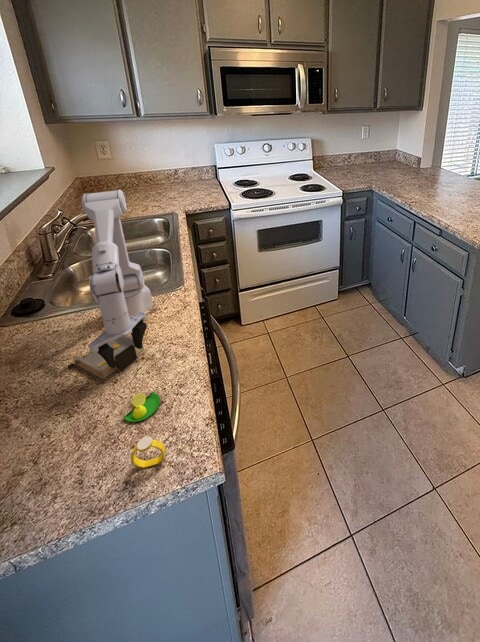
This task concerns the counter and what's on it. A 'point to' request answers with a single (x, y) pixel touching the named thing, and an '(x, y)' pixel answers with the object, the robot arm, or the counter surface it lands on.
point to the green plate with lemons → (143, 406)
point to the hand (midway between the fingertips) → (125, 356)
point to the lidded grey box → (121, 357)
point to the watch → (144, 446)
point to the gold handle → (71, 365)
